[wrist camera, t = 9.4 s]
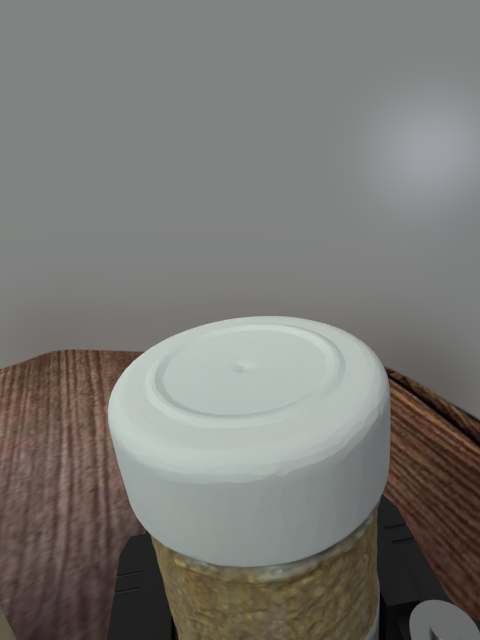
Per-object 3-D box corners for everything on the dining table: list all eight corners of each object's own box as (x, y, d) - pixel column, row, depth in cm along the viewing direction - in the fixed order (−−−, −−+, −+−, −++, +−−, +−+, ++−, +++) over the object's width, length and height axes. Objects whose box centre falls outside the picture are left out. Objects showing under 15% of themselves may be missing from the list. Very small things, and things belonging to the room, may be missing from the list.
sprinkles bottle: (199, 721, 14) (95, 341, 9) (327, 658, 15) (305, 291, 10) (249, 952, 10) (112, 512, 5) (418, 843, 11) (465, 392, 6)
